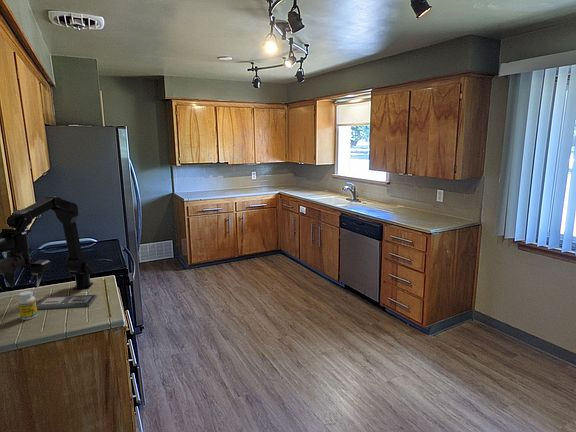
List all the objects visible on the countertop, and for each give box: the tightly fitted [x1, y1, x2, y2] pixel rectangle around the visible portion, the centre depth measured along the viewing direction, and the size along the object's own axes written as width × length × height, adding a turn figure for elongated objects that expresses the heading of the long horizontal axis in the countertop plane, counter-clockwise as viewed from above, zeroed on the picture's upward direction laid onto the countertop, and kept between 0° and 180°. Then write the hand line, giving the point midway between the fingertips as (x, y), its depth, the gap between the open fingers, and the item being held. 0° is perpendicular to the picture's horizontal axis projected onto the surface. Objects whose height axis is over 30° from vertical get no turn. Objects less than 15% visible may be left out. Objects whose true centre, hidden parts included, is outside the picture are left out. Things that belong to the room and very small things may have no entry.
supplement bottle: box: [17, 290, 38, 321], centre depth 142 cm, size 5×5×10 cm
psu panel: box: [36, 294, 98, 310], centre depth 154 cm, size 9×20×2 cm, turn 98°
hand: (24, 287), depth 140 cm, fingers open, 9 cm apart
